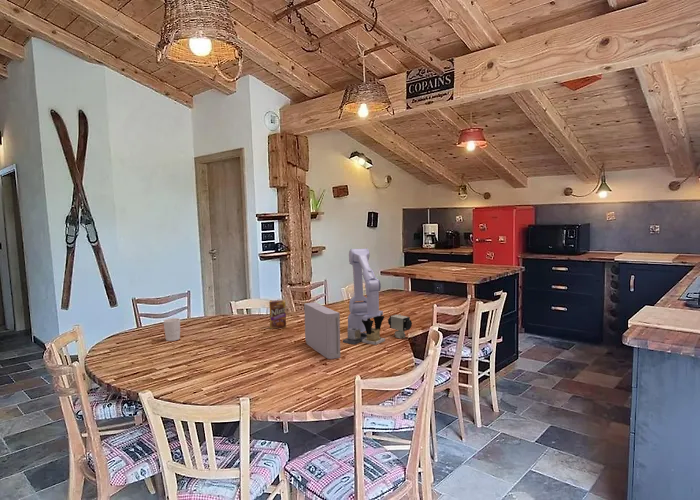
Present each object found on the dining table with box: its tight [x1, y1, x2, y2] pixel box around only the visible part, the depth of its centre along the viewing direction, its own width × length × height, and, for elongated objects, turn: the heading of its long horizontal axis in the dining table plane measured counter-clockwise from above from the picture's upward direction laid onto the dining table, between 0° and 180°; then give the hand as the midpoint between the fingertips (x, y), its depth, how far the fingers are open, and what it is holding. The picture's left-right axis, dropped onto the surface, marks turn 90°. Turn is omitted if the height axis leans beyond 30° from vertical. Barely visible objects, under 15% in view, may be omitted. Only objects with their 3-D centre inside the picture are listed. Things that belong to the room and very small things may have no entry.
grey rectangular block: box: [346, 328, 361, 341], centre depth 222 cm, size 4×4×6 cm
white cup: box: [163, 317, 181, 342], centre depth 233 cm, size 8×8×10 cm
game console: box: [303, 301, 341, 360], centre depth 209 cm, size 6×27×20 cm, turn 27°
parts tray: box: [361, 337, 386, 346], centre depth 221 cm, size 8×8×2 cm
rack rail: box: [342, 331, 367, 346], centre depth 225 cm, size 7×17×2 cm, turn 143°
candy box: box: [269, 299, 287, 330], centre depth 251 cm, size 9×4×15 cm, turn 98°
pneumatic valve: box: [387, 313, 413, 339], centre depth 228 cm, size 6×12×12 cm, turn 46°
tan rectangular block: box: [367, 327, 381, 342], centre depth 221 cm, size 4×4×6 cm
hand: (373, 332), depth 221 cm, fingers open, 7 cm apart
